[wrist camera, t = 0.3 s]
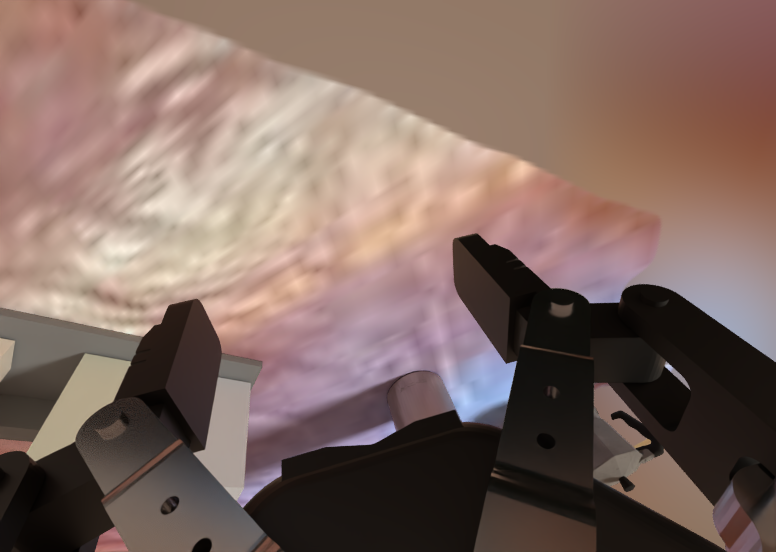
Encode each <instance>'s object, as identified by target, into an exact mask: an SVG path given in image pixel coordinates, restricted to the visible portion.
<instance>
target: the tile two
mask: <svg viewBox="0 0 776 552" xmlns="http://www.w3.org/2000/svg"><path fill="white" fill-rule="evenodd" d="M130 363H131V361H125V360H119V359H114V358H108V357H103V356H97V355H92V354H86V353H85V354H84V356H83V358H82V359H81V361H80V363H79V365H78V366H77V368H76V370H75V371H74V373H73V375H72V376H71V378H70V380H69V382H68V383H67V385H66V387H65V388H64V390H63V392H62V393H61V395H60V397H59V399H58V400H57V402H56V404H55V405H54V407H53V409H52V410H51V412H50V414H49V416H48V417H47V419H46V421H45V422H44V424H43V426H42V427H41V429H40V431H39V433H38V434H37V436H36V438H35V439H34V441H33V443H32V445H31V446H30V448H29V450H28V451H27V453H26V454H27V455H29V456H30V457H31V458H32V459H33V460H34V461H37V460H39V459H41V458H43V457H45V456H47V455H49V454H51V453H53V452H55V451H57V450H59V449H62V448H64V447H66V446H68V445H70V444H71V443H73V442H75V439H76V435H77V433H78V431H79V429H80V428H81V426H82V425H83V424H84V422H85V421H86V420H87V419H88V418H89V417H90V416H91V415H93V414H94V413H95V412H96V411H98V410H99V409H101V408H102V407H104V406H106V405H107V404H110V403H112V402H113V401H114V398H115V396H116V394H117V392H118V390H119V387H120V385H121V383H122V381H123V379H124V376H125V374H126V372H127V370H128V368H129V366H131V364H130Z"/></svg>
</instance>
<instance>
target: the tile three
mask: <svg viewBox="0 0 776 552" xmlns="http://www.w3.org/2000/svg"><path fill="white" fill-rule="evenodd" d="M250 390H251V383H248V382H242V381H237V380H231V379H226V378H220V377H218V380H217V386H216V391H215V397H214V403H213V408H212V414H211V419H210V425H209V431H208V436H207V442H206V447H205V450H202V451H198V452H195V453H193V454H194V455H195V456H196V457H197V458H198V459H199V460H200V461H201V463H202V464H203V465H204V466H205V467H206V468H207V469H208V470H209V471H210V473H211V474H212V475H213V476H214V477H215V478H216V479H217V480H218V481H219V483H220V484H221V485H222V486H223V487H224V488H225V489H226V490H227V491H228V493H229V494H230V495H231V496H232V497H233V498H234V499H235V500H236V501H237V499H238V497H239V496H240V494H241V492H242V490H243V489H244V478H245V463H246V449H247V434H248V419H249V404H250Z"/></svg>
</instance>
